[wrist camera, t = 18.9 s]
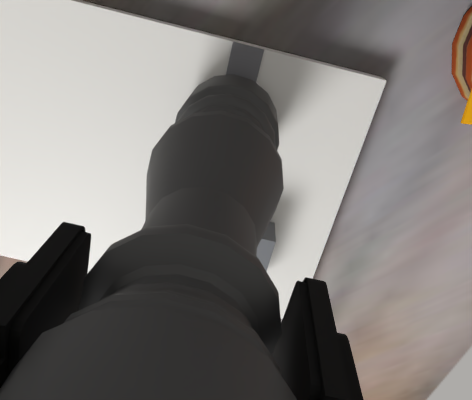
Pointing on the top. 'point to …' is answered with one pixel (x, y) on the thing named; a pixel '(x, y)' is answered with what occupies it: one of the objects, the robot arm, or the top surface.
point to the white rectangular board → (156, 125)
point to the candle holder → (181, 272)
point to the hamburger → (464, 63)
